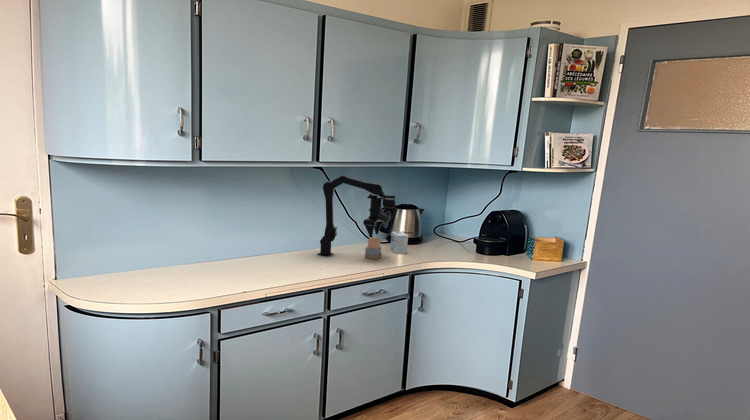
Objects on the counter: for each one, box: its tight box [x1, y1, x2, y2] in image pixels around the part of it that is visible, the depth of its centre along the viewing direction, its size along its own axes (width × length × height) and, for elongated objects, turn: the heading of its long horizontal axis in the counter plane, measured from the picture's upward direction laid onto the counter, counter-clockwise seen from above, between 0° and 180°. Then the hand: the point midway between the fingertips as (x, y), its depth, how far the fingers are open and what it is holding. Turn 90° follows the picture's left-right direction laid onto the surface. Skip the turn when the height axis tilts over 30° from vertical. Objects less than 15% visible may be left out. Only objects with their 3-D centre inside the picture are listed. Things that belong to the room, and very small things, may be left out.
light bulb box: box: [389, 231, 409, 255], centre depth 285 cm, size 11×7×11 cm, turn 17°
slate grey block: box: [364, 246, 382, 255], centre depth 268 cm, size 7×7×3 cm
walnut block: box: [364, 252, 383, 261], centre depth 268 cm, size 7×7×3 cm
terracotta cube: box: [367, 236, 381, 249], centre depth 267 cm, size 5×5×5 cm
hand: (373, 235), depth 266 cm, fingers open, 9 cm apart
